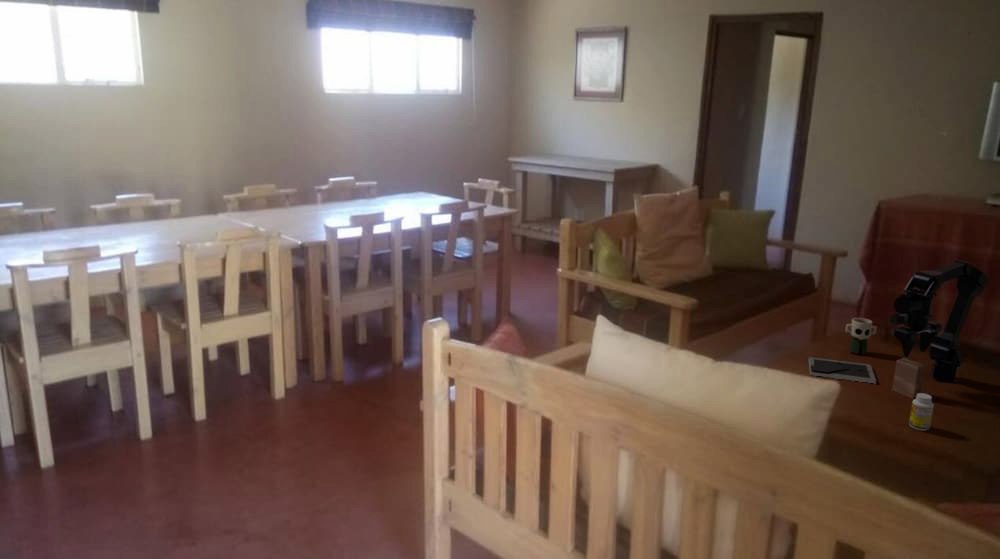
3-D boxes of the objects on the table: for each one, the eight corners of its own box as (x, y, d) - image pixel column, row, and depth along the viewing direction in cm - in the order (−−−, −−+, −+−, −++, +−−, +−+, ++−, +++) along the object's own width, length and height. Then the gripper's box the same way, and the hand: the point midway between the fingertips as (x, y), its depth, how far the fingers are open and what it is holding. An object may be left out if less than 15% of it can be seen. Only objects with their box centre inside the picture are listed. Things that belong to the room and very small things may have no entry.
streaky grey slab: (898, 388, 250) (903, 357, 247) (919, 395, 245) (924, 364, 242) (891, 390, 248) (896, 360, 245) (912, 398, 242) (917, 366, 240)
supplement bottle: (910, 421, 225) (916, 390, 223) (931, 426, 222) (937, 395, 219) (906, 427, 221) (911, 396, 219) (927, 433, 218) (933, 401, 215)
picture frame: (810, 377, 260) (875, 386, 254) (811, 370, 260) (876, 378, 253) (808, 362, 275) (869, 370, 268) (809, 355, 274) (870, 362, 267)
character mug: (844, 354, 281) (849, 322, 278) (840, 348, 288) (844, 316, 285) (875, 357, 279) (880, 324, 276) (870, 350, 286) (875, 318, 283)
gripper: (913, 299, 256) (907, 342, 260) (881, 307, 246) (874, 351, 250) (946, 308, 246) (938, 351, 250) (913, 316, 237) (906, 362, 241)
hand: (913, 354), depth 248 cm, fingers open, 9 cm apart
